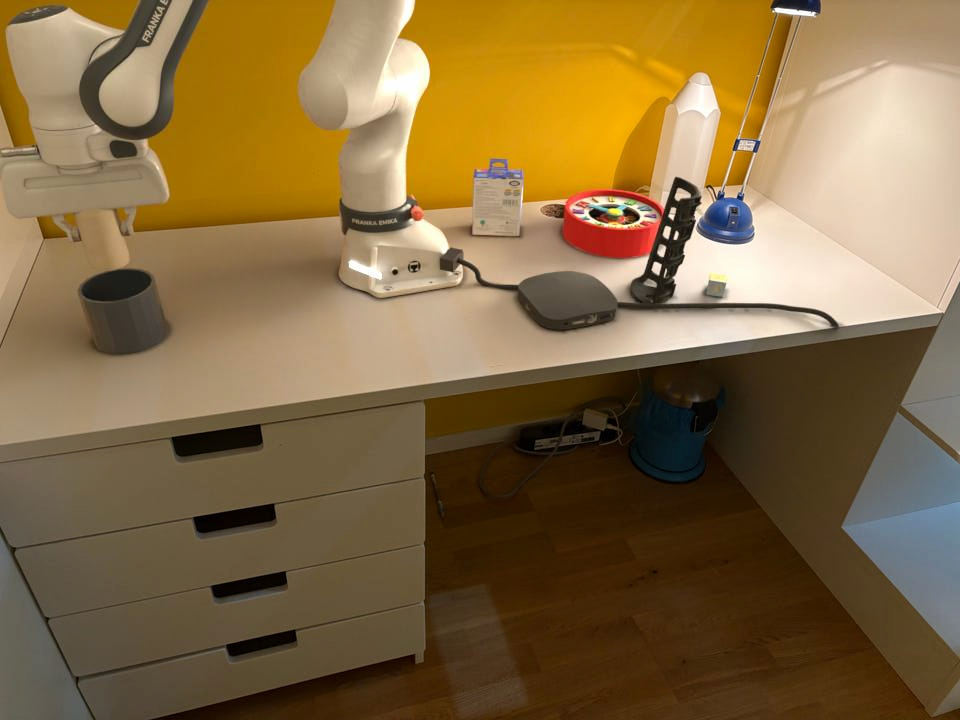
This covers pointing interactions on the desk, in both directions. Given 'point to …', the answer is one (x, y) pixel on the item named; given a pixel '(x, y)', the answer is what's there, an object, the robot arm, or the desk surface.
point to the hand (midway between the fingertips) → (102, 237)
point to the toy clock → (611, 222)
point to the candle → (102, 239)
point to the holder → (669, 245)
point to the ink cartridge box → (497, 200)
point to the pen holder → (123, 310)
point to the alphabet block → (716, 285)
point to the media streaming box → (567, 299)
